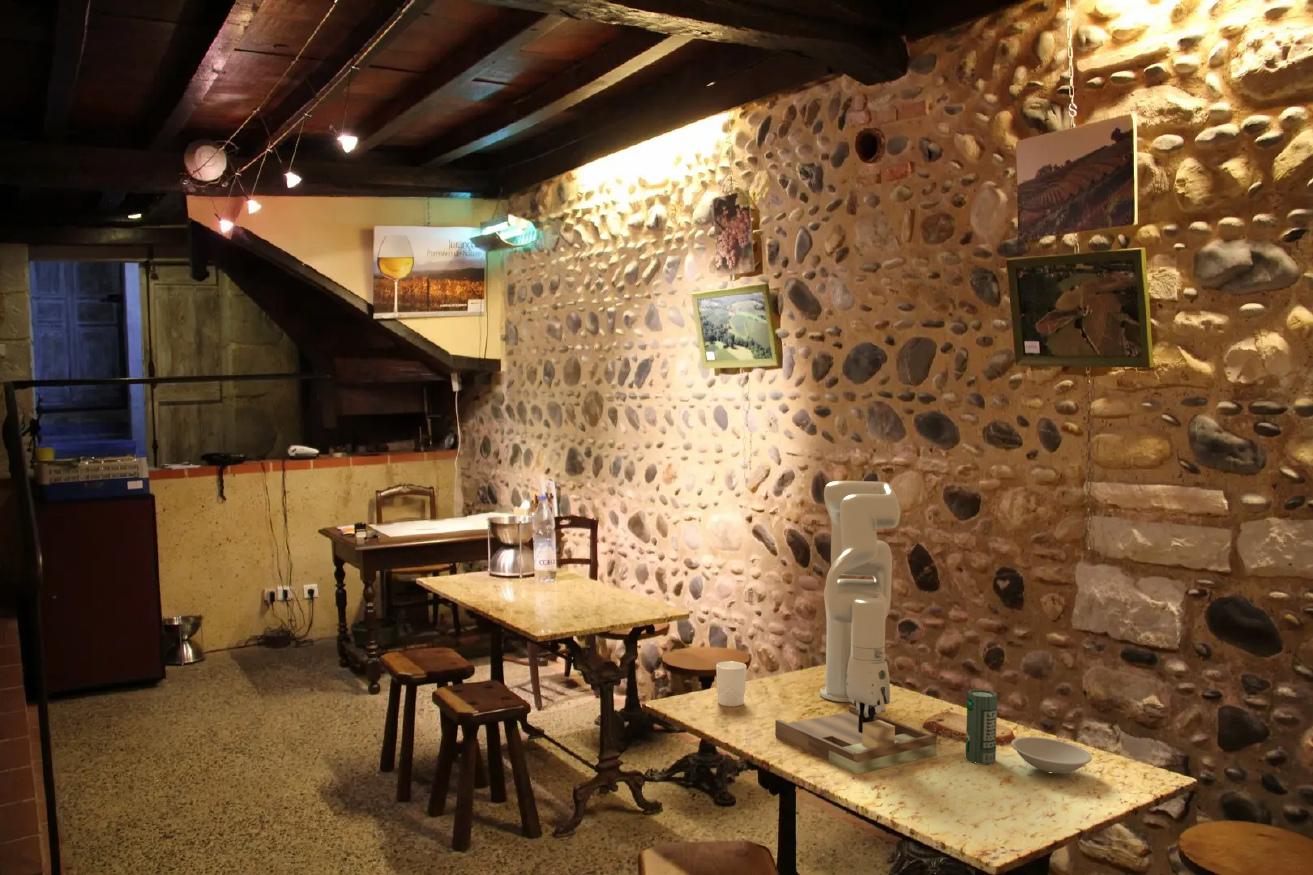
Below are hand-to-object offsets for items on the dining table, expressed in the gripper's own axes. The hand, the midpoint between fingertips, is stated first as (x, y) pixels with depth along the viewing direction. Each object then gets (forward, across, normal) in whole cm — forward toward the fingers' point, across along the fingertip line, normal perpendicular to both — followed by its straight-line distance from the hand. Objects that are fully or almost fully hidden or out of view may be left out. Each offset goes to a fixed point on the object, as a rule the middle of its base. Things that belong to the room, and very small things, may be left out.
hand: (865, 732), depth 238 cm
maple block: (+2, -5, +1) cm, 5 cm away
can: (+4, -17, -19) cm, 26 cm away
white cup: (+4, +45, +6) cm, 46 cm away
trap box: (+4, +4, 0) cm, 6 cm away
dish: (+4, -30, -26) cm, 40 cm away
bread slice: (+5, -2, -31) cm, 31 cm away
